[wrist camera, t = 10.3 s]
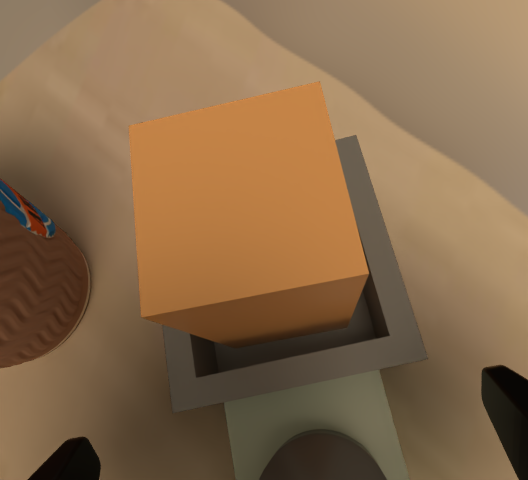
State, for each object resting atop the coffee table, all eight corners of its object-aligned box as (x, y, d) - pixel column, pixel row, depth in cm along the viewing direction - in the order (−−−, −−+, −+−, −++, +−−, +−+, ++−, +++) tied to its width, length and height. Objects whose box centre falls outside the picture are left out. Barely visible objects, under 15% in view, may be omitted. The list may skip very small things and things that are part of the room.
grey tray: (465, 566, 16) (525, 646, 11) (235, 607, 16) (198, 698, 12) (350, 183, 21) (356, 128, 17) (181, 224, 22) (141, 182, 17)
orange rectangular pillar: (347, 328, 18) (369, 273, 9) (235, 348, 19) (140, 317, 9) (323, 222, 20) (319, 81, 10) (220, 243, 20) (128, 125, 11)
